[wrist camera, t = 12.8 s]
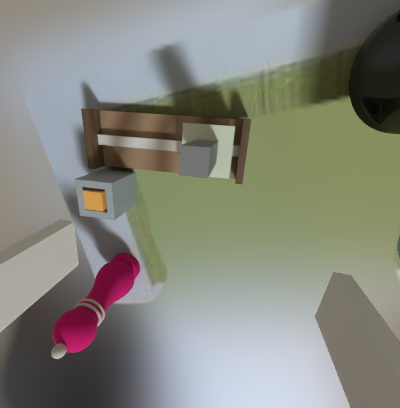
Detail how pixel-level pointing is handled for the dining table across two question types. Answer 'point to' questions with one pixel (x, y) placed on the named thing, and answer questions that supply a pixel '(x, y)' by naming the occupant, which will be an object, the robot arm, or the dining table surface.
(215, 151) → the carriage
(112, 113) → the rail board
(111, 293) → the pepper mill
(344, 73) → the dining table surface
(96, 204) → the button
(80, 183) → the orange button box
